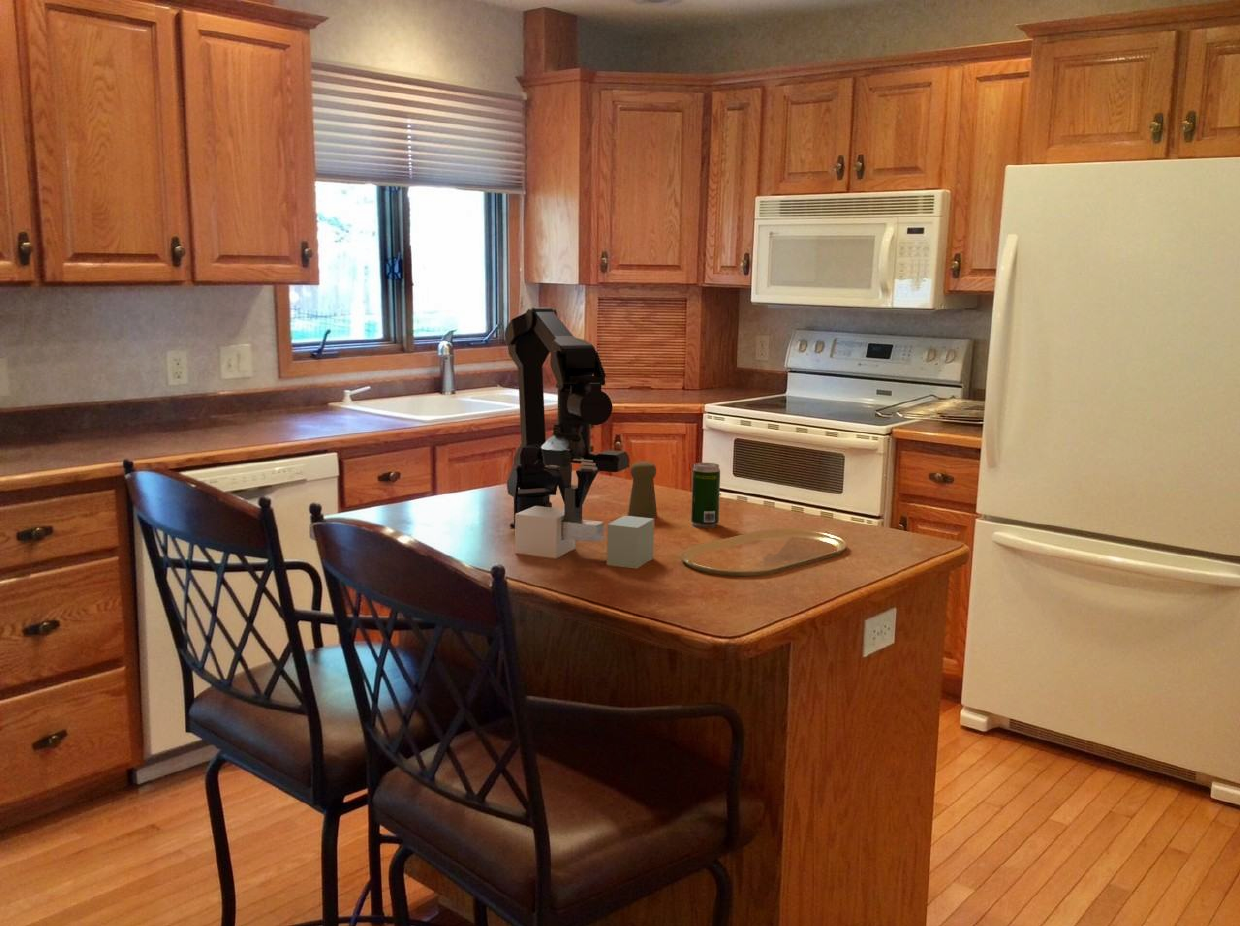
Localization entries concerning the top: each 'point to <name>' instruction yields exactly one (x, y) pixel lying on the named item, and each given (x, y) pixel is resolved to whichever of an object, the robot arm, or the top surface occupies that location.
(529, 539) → the sleeve
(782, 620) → the top surface
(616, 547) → the socket block
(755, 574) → the serving platter
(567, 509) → the grey bridging bar
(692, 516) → the beer can
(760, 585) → the top surface
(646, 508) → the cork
